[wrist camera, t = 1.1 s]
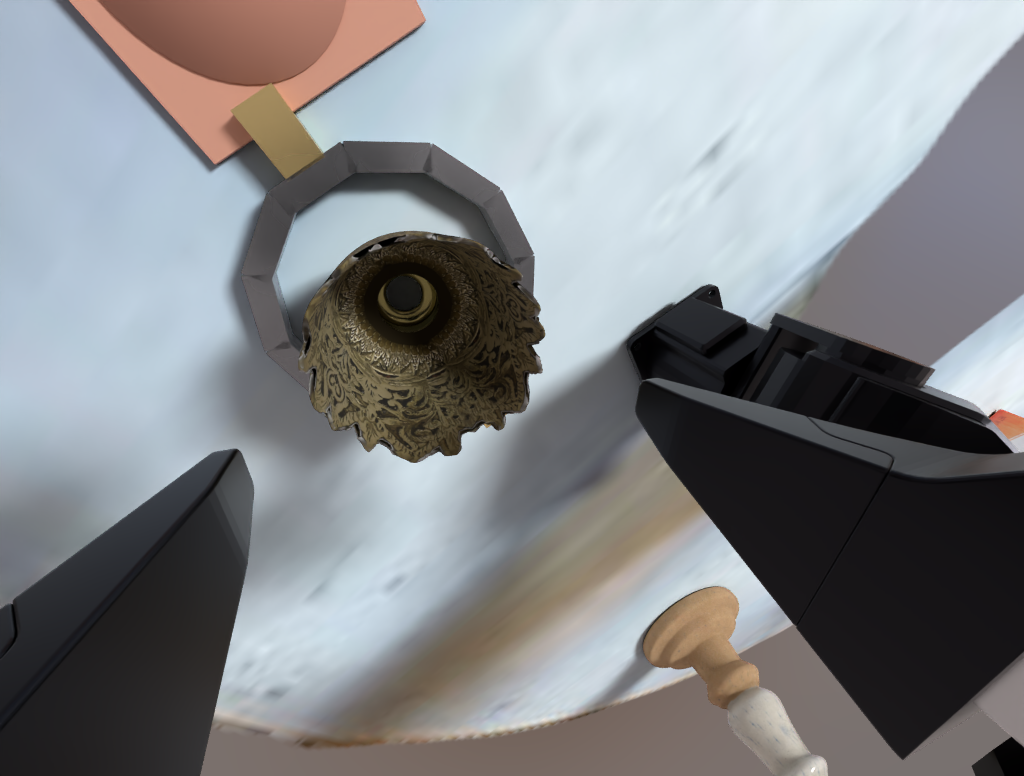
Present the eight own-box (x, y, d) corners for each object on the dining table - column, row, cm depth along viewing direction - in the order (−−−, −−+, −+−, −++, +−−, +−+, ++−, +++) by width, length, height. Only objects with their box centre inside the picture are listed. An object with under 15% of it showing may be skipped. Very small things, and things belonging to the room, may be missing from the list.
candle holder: (644, 613, 42) (836, 905, 26) (739, 569, 45) (967, 806, 29) (638, 670, 49) (789, 933, 32) (722, 629, 52) (899, 851, 35)
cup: (365, 388, 20) (374, 497, 14) (278, 244, 16) (234, 302, 10) (499, 330, 22) (567, 406, 15) (449, 181, 17) (513, 195, 11)
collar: (576, 349, 24) (586, 358, 23) (407, 468, 24) (409, 482, 23) (398, 4, 14) (402, -8, 13) (114, 198, 14) (96, 201, 13)
